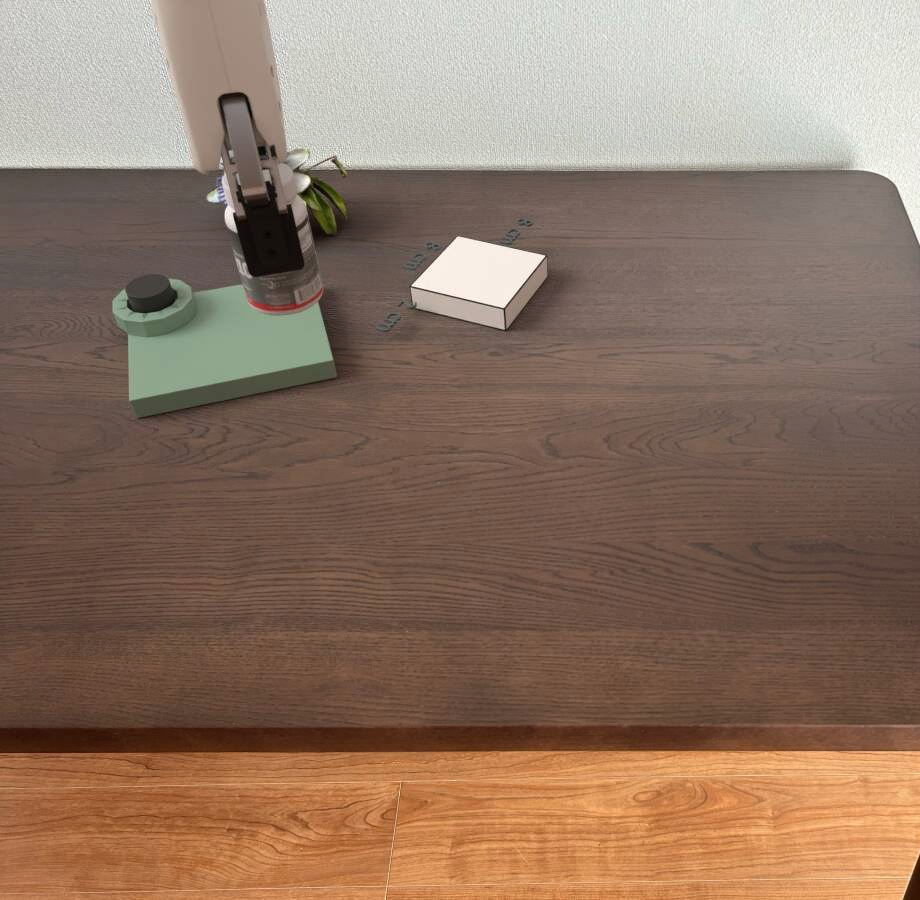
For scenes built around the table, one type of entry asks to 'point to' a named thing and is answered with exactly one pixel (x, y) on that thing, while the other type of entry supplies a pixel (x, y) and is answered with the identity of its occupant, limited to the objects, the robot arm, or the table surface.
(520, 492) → the table surface
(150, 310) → the button
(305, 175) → the passion flower
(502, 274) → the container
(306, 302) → the pill bottle
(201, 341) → the scale
